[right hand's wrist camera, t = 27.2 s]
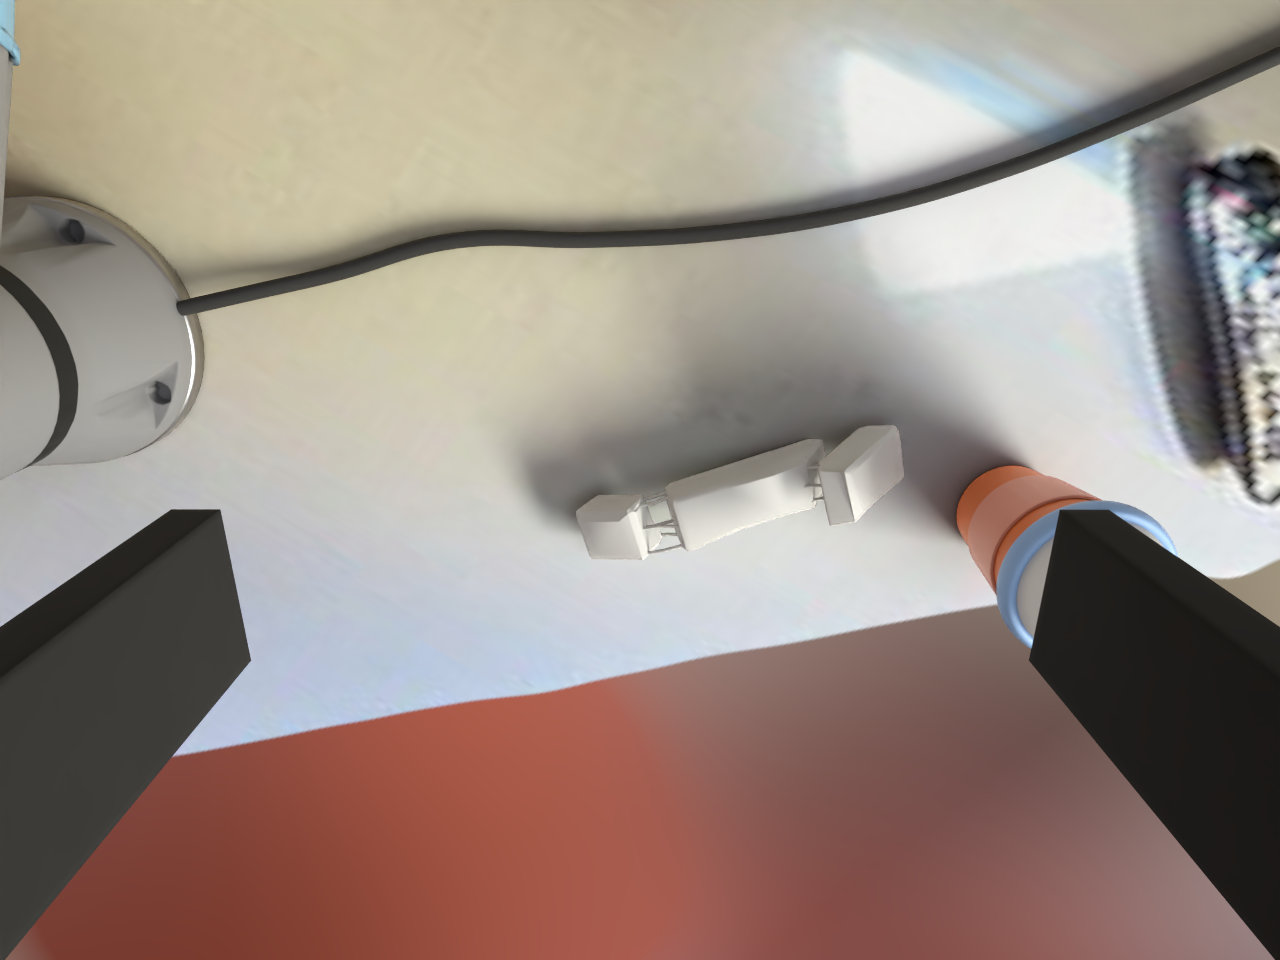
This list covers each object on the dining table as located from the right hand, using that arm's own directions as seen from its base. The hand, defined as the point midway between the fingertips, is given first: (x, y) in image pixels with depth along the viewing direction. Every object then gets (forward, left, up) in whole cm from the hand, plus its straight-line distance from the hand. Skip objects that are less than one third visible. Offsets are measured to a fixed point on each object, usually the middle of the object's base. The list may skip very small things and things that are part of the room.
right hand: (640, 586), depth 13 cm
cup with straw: (-18, +20, -36) cm, 45 cm away
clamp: (-2, +13, -36) cm, 38 cm away
